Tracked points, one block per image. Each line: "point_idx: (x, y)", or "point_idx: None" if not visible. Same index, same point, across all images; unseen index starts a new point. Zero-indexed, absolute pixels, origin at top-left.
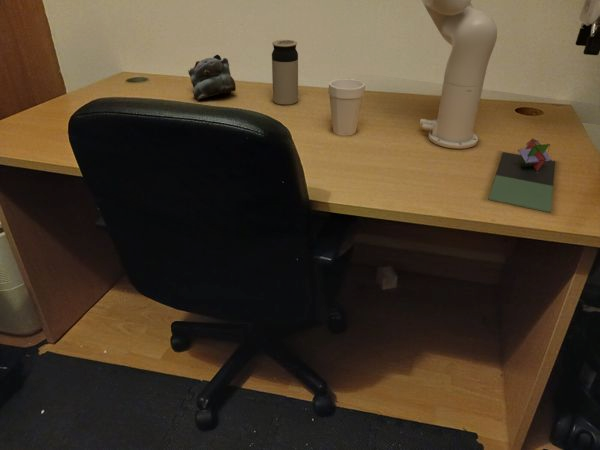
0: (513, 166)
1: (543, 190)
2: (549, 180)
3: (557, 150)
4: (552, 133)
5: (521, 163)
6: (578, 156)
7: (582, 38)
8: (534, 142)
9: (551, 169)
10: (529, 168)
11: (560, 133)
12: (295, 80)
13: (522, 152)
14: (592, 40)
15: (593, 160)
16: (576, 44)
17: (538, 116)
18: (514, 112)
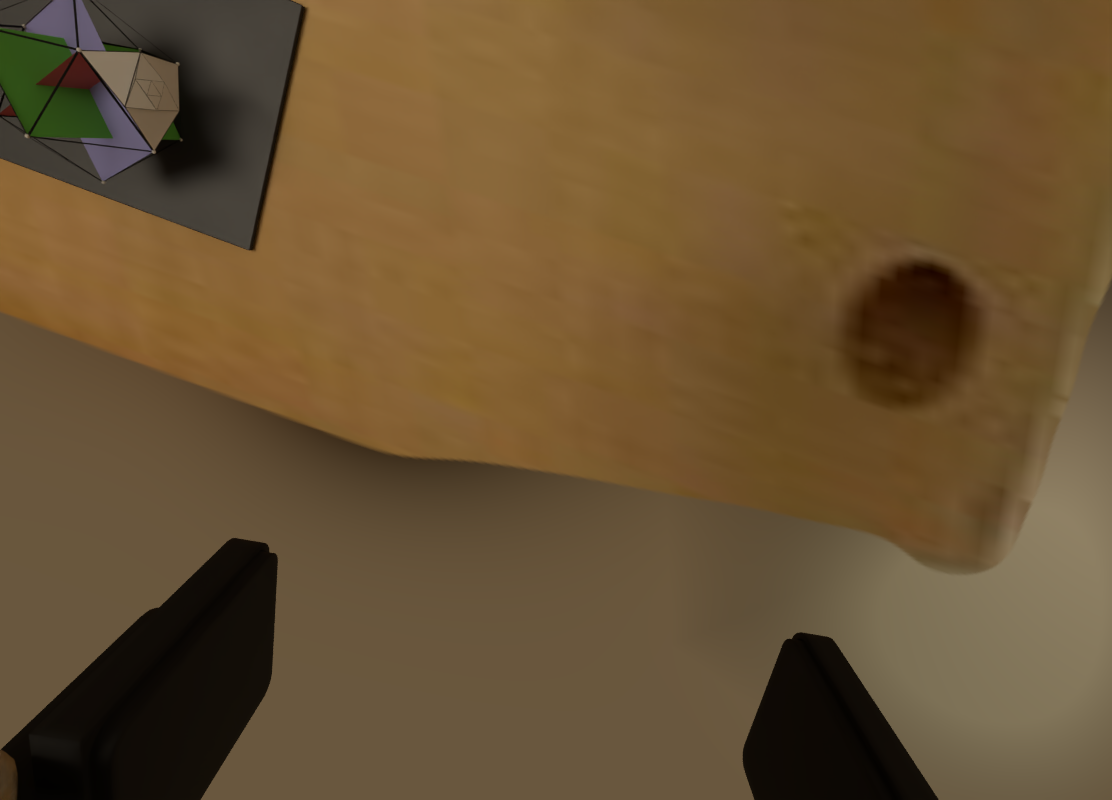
0: (130, 12)
1: None
2: (27, 151)
3: (393, 309)
4: (601, 357)
5: (179, 69)
6: (342, 378)
7: (808, 753)
8: (65, 62)
9: (150, 200)
10: None
11: (604, 394)
12: None
13: (72, 12)
14: (35, 725)
15: (312, 423)
16: (803, 640)
17: (834, 365)
18: (904, 253)
